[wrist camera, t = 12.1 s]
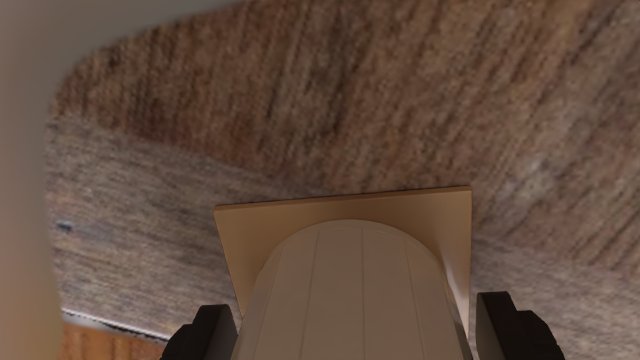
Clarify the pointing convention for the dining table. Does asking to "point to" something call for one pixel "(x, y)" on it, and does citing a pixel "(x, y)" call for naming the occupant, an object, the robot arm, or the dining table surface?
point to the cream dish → (351, 299)
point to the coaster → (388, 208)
